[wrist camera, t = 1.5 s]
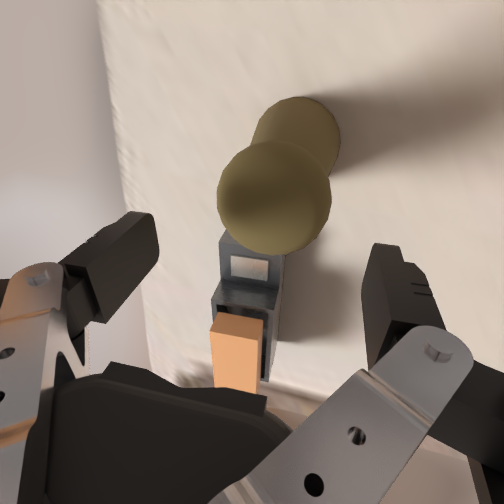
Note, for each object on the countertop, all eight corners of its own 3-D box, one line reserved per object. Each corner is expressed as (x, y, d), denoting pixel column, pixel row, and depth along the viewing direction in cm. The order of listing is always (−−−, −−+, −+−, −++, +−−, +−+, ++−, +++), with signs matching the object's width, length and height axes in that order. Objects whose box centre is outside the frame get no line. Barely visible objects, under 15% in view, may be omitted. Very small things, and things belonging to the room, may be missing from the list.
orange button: (218, 311, 24) (209, 331, 22) (263, 320, 23) (257, 340, 22) (222, 372, 29) (215, 392, 27) (260, 381, 28) (255, 401, 26)
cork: (236, 137, 22) (169, 203, 13) (304, 74, 19) (275, 105, 10) (288, 200, 24) (259, 293, 15) (358, 151, 21) (372, 234, 12)
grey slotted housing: (229, 223, 26) (207, 260, 22) (287, 230, 26) (276, 270, 21) (233, 332, 34) (217, 376, 30) (277, 341, 34) (268, 387, 29)
